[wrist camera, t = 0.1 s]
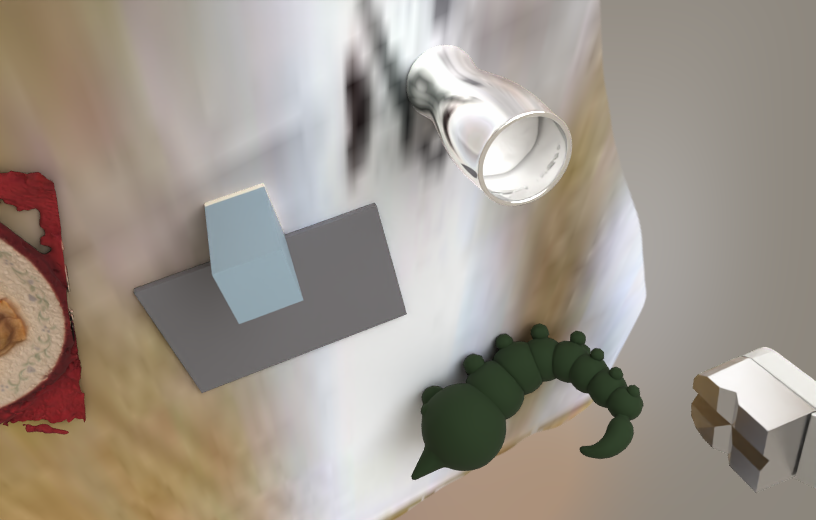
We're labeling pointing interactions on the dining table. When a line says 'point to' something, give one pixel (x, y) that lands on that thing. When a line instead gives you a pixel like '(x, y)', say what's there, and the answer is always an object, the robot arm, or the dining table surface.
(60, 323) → the plate with food
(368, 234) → the charcoal mat
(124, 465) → the dining table surface
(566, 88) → the dining table surface
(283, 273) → the slate block
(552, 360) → the toy figurine
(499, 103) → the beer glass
